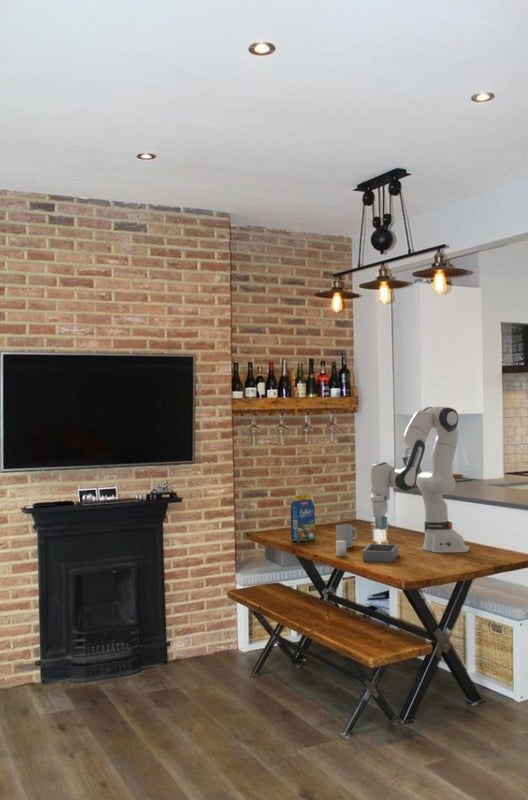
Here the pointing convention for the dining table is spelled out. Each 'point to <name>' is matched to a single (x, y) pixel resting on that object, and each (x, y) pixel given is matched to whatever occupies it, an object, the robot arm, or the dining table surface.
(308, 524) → the blue food package
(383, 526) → the block
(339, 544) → the canister
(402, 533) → the dining table surface
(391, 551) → the tote
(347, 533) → the mug
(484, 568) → the dining table surface
